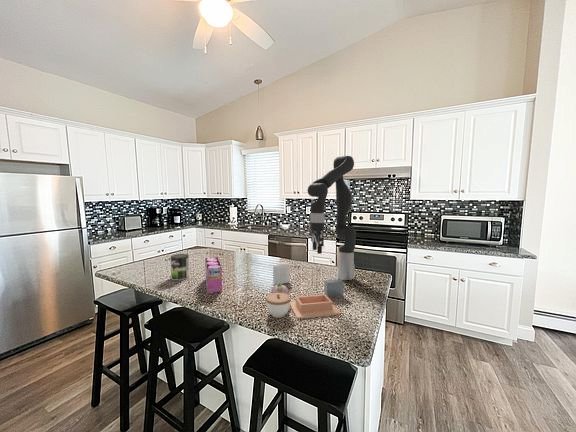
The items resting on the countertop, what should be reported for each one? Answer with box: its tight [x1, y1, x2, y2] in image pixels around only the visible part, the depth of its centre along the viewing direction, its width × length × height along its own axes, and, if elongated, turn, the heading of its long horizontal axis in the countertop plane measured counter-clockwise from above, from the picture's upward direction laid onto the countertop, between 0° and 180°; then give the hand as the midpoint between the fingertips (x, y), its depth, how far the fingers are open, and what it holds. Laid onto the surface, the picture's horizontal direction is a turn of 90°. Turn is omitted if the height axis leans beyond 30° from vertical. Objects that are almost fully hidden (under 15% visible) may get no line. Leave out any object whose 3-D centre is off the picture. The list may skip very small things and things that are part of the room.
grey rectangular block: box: [323, 278, 345, 299], centre depth 133 cm, size 9×4×8 cm, turn 103°
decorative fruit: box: [270, 283, 290, 296], centre depth 124 cm, size 9×8×10 cm
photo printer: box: [272, 262, 291, 286], centre depth 151 cm, size 10×4×12 cm, turn 123°
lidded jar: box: [265, 293, 291, 319], centre depth 113 cm, size 11×11×9 cm
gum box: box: [204, 256, 223, 294], centre depth 148 cm, size 24×8×14 cm, turn 20°
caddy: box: [289, 293, 342, 320], centre depth 119 cm, size 16×20×4 cm
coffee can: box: [170, 253, 190, 281], centre depth 160 cm, size 10×10×14 cm
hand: (316, 251), depth 137 cm, fingers open, 8 cm apart
